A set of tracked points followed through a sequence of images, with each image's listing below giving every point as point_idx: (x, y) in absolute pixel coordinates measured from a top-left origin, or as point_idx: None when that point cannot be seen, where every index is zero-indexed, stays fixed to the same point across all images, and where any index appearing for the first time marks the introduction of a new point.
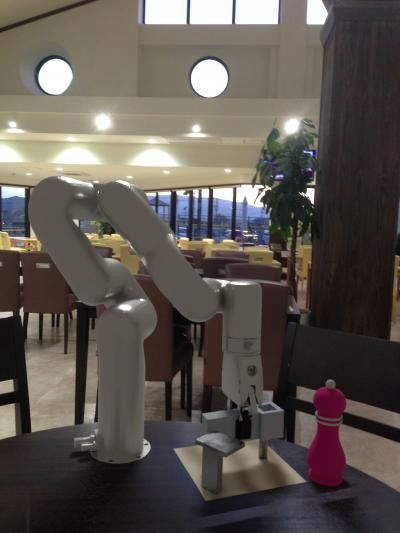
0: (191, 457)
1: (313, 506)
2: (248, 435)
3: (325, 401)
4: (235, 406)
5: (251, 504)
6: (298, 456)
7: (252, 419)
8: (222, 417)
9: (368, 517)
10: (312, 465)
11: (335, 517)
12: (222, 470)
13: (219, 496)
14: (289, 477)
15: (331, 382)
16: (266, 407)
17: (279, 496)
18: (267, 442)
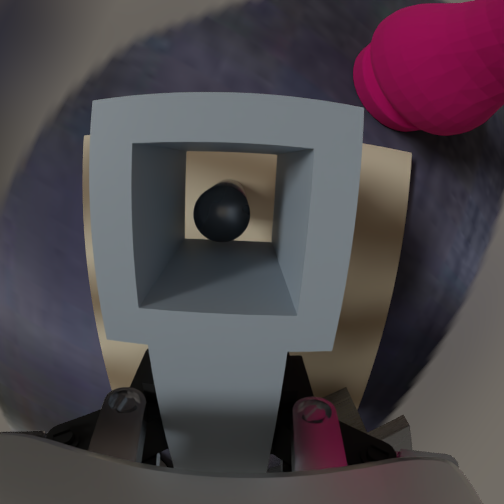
0: None
1: (456, 194)
2: (300, 356)
3: None
4: (144, 441)
5: (392, 326)
6: (233, 50)
7: (327, 400)
8: None
9: (501, 119)
10: (445, 135)
11: (488, 178)
12: (362, 423)
13: (358, 394)
14: (378, 186)
15: None
16: (143, 183)
17: (401, 248)
18: (244, 192)
